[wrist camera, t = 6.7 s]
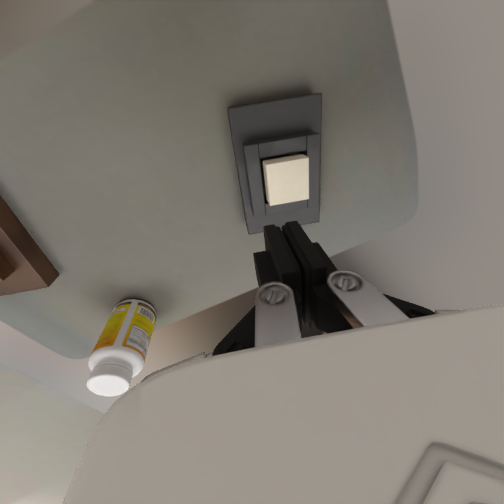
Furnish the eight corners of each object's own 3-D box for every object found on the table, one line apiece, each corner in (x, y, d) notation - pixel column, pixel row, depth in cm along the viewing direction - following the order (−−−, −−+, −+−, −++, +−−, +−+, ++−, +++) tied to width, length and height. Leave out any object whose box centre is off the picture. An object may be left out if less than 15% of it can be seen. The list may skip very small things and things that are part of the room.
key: (262, 160, 21) (265, 164, 19) (302, 153, 21) (309, 157, 19) (266, 199, 23) (269, 206, 21) (303, 193, 23) (309, 199, 21)
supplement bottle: (112, 322, 33) (76, 398, 25) (116, 293, 31) (77, 367, 22) (154, 328, 35) (133, 402, 26) (161, 301, 32) (140, 373, 24)
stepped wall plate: (226, 107, 21) (228, 108, 18) (313, 93, 22) (331, 92, 18) (246, 226, 28) (250, 243, 24) (312, 214, 28) (325, 229, 25)
